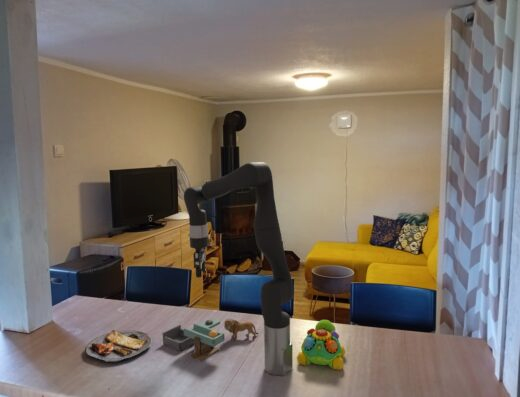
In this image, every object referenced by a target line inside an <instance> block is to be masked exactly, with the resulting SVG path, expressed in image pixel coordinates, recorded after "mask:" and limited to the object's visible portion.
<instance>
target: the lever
mask: <svg viewBox="0 0 520 397" xmlns="http://www.w3.org/2000/svg"><path fill="white" fill-rule="evenodd" d="M219 325H221V321H220V320H218V319H217V320H216V319H214V318H210V319H207V320H205V321H204V322H201V323H196V322H194V323H193V328H191V329H190V328H187V327H183V329H184V335H185V336H187V337H190V338H192V339H194V337H197V338H200V342H202V343H205V344H208V345H210V346H213V347H216V346H218V345H219V344H221V343H223V342H224V341H225V338H226V337H225V333H224V332H221V331H218V330H215V329H213V328H215V327H217V326H219ZM211 331H216V332H217V337H215V338H211V337H209V333H210V332H211Z"/></svg>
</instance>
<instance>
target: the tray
mask: <svg viewBox="0 0 520 397" xmlns="http://www.w3.org/2000/svg"><path fill="white" fill-rule="evenodd" d="M162 344H163V345H164V346H165V347H166V346H167V347H169V348H170V349H173V350H175V351H177V352H183V351H184V350H186V349H188V348H190V347H191V346H193V345H194V339H192V338H190V337H187V336H185V335H184V328H182V325H181V324H179V325H176V326H174V327H172V328H170V329H168V330H166V331H164V332H162Z"/></svg>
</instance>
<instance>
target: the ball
mask: <svg viewBox="0 0 520 397" xmlns="http://www.w3.org/2000/svg"><path fill="white" fill-rule="evenodd" d="M216 331H217V330H216ZM216 331H211V332H210V333H209V337H211V338H215V337H217V332H216Z"/></svg>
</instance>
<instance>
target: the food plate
mask: <svg viewBox="0 0 520 397" xmlns="http://www.w3.org/2000/svg"><path fill="white" fill-rule="evenodd" d="M152 343H153V338H152V337H151V336H150V335H149V334H148V333H146V332H142V331H139V330H130V329H127V330H115V329H113V330H112V329H111V331H110V332H109V333H105V334H103V335H100V336H97V337H95V338H94V339H92V340H91V341H90V342H89V343H88V344H87V345H86V346H85V349H84V350H85V354H86V355H88V356H89V357H91V358H95V359H97V360H100V361H101V360H102V361H104V362H120V361H122V360H125V359H129V358H132V357H134V356H137V355H139V354H140V353H143V352H144V351H146V350H147V349H148V348H150V347H151V345H152ZM133 351H135V352H133ZM116 356H121V357H117V358H115V357H116ZM111 357H112V358H111Z"/></svg>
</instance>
